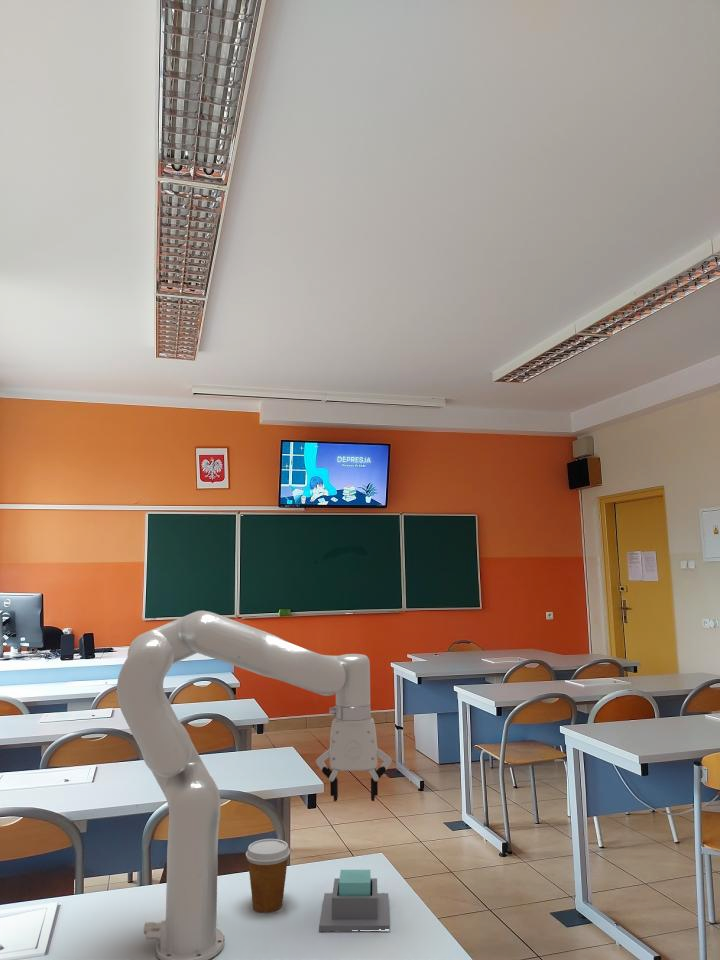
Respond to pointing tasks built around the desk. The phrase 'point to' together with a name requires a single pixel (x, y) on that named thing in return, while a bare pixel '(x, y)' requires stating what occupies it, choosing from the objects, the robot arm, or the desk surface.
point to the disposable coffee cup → (267, 873)
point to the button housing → (354, 910)
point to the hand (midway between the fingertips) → (354, 798)
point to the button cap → (355, 883)
